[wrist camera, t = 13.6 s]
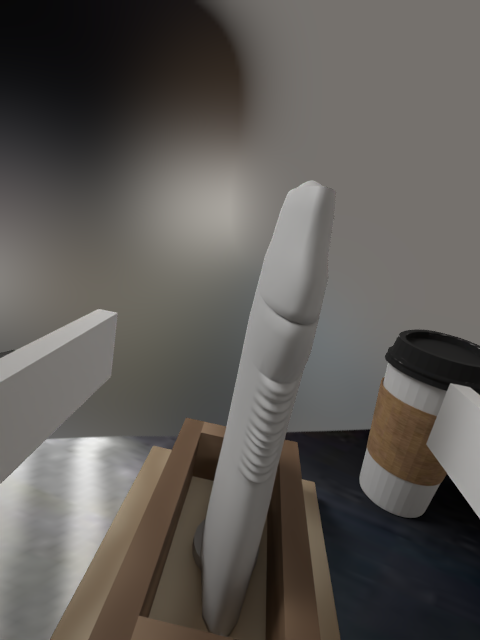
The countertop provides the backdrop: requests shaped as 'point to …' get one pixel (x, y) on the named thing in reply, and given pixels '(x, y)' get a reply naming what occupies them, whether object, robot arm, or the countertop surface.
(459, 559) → the countertop surface
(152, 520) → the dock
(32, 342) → the robot arm
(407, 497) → the coffee cup
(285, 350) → the tall pale column
